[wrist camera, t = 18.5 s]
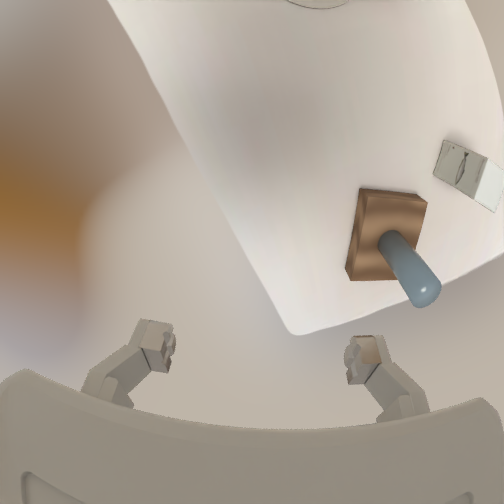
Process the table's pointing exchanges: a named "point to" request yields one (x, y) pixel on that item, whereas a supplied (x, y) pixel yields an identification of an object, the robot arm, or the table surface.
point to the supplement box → (471, 174)
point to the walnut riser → (381, 230)
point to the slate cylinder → (409, 269)
